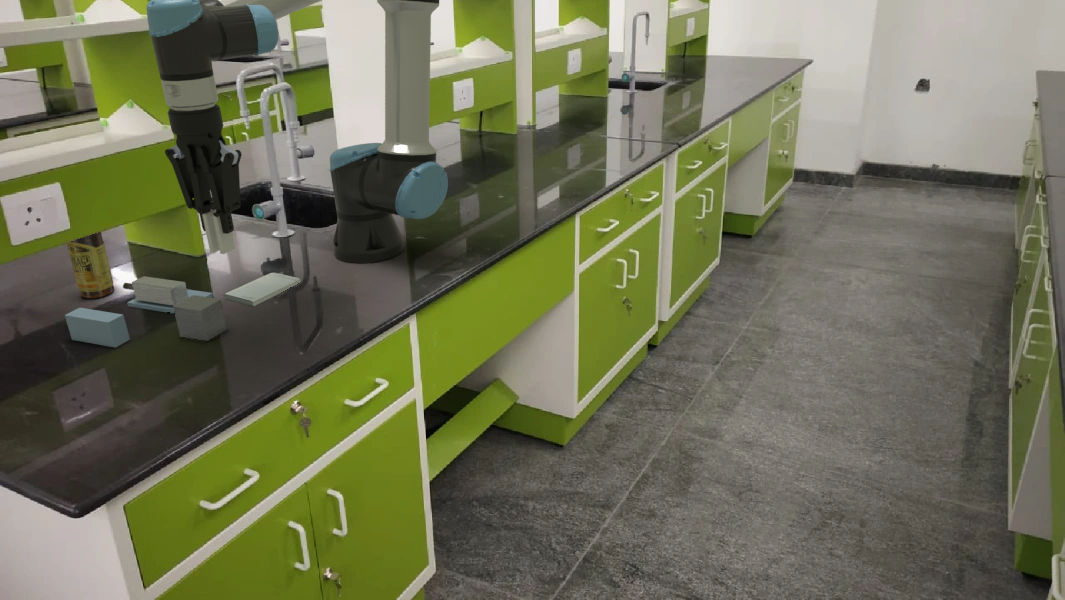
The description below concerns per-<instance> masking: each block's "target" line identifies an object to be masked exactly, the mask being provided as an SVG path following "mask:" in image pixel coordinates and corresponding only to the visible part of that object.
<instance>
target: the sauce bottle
mask: <svg viewBox="0 0 1065 600" xmlns="http://www.w3.org/2000/svg"><path fill="white" fill-rule="evenodd" d="M102 235H103V234H102V231H101V232H98V233H95V234H92V235H89V236H86V237H83V238H80V239H77V240H75V241H71V242H69V243H67V242H66V245H67V251H68V254H69V257H70V261H71V265H72V269H73V273H74V276H75V281H76V285H77V288H78V290H79V293H80V295H81V297H83V298H85V299H101V298H102V297H105V296H108V295H110V294H112V293H113V292H114V290H115V286H114V280H113V279H114V278H113V275H112V272H111V267H110V264H109V258H108V255H107V254H108V253H107V249H106V246H105V242H104V240H103V236H102Z"/></svg>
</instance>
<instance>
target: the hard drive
mask: <svg viewBox="0 0 1065 600" xmlns="http://www.w3.org/2000/svg"><path fill="white" fill-rule="evenodd" d="M300 282H301V283H302V281H301V279H300V277H296V276H291V275H286V274H283V273H282V274H281V273H278V272H270V273H267V274H265V275H263V276H261V277H259V278H256V279H254V280H252V281H250V282H247V283H246V284H244V285H241V286H239V287H237V288H235V289H233V290H230V291H228V292H226V293H223V294H222V295H223V296H222V297H223V299H225V300H229V301H233V302H235V303H240V304H243V305H247V306H252V307H255V306H257V305H260V304H261V303H263V302H265V301H267V300H270V299H272V298H273V297H275V296H278V295H279V294H282V293H283V291H284V292H285V290H286V291H287V289H288V290H289V288H290V287H292V288H293V286H294V287H296V286H297V284H298V283H300ZM301 283H300V284H301ZM295 285H296V286H295ZM298 285H299V284H298ZM290 289H291V288H290ZM281 292H282V293H281Z"/></svg>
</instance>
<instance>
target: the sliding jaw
mask: <svg viewBox="0 0 1065 600" xmlns="http://www.w3.org/2000/svg"><path fill="white" fill-rule="evenodd" d="M122 288H123V289H124V290H129V291H133V293H134V296H135V297H134V298H136V300H141V301H147V302H154V303H160V304H167V305H173V306H174V305H177V304H178V303H180V302H182V301H184V300H186V299H187V298H189V297H188V293H187V289H188V288H187V284H186V281H180V280H173V279H172V280H171V279H165V278H159V277H151V276H145V275H144V276H142V277H140V278H137V279H135V280H133V281H132V282H131V283H129V282H124V283H123V285H122Z"/></svg>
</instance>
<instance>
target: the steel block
mask: <svg viewBox="0 0 1065 600" xmlns="http://www.w3.org/2000/svg"><path fill="white" fill-rule="evenodd" d="M173 309H174V313H175V314H174V313H173V314H174V317H175V321H176V324H177V325H176V326H177V328H178V333H179V337H180V338H181V337H186V338H185V339H187V338H193V339H199V340H205V341H209V340H210V339H212V338H213V339H215V338H216V337H218V336H219V335H218V334H220V333H221V334H222V332H223V331H224V332H226V331H228V326H227V321H226V317H225V312H224V308H223V304H222V299H221V298H215V297H212V298H210V297H203V296H196V295H193V296H191V297H189V298H187V299H186V300H184V301H182V302H180V303H178V304H177V305H175V306H173ZM225 330H226V331H225ZM224 332H223V333H224ZM221 334H220V335H221ZM217 335H218V336H217ZM215 336H216V337H215ZM214 337H215V338H214ZM193 339H192V340H193ZM213 339H212V340H213ZM199 340H198V341H199ZM205 341H204V342H205ZM210 341H211V340H210ZM210 341H209V342H210Z"/></svg>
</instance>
